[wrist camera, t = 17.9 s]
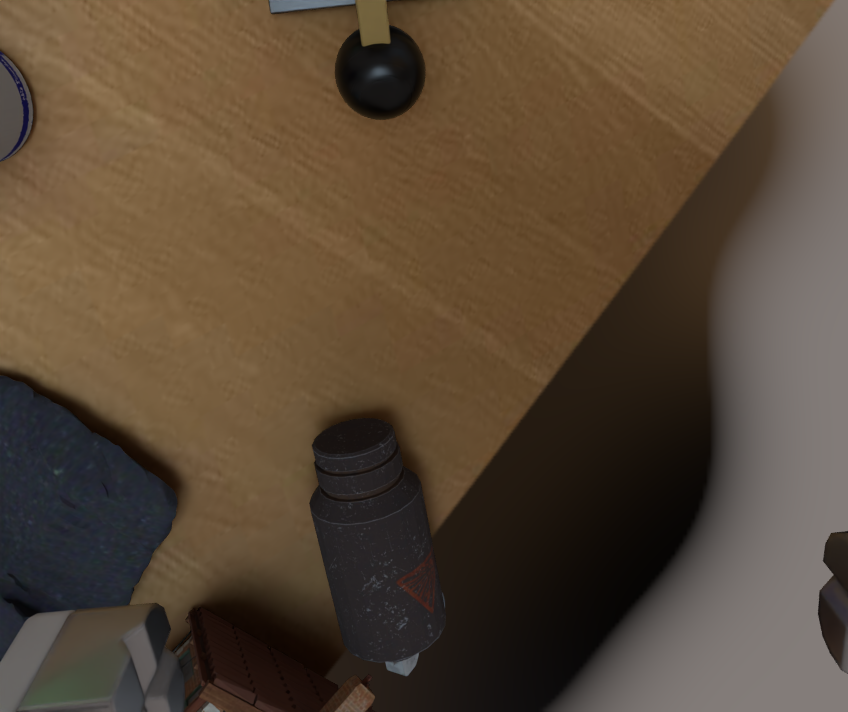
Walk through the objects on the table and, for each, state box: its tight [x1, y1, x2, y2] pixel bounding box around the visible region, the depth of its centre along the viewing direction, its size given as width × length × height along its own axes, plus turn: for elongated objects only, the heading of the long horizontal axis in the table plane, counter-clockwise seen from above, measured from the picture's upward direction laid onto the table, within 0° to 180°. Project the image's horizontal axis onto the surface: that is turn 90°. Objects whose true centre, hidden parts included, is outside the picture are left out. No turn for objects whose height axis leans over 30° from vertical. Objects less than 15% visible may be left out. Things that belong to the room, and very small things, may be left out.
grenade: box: [309, 418, 446, 676], centre depth 44 cm, size 8×6×15 cm
